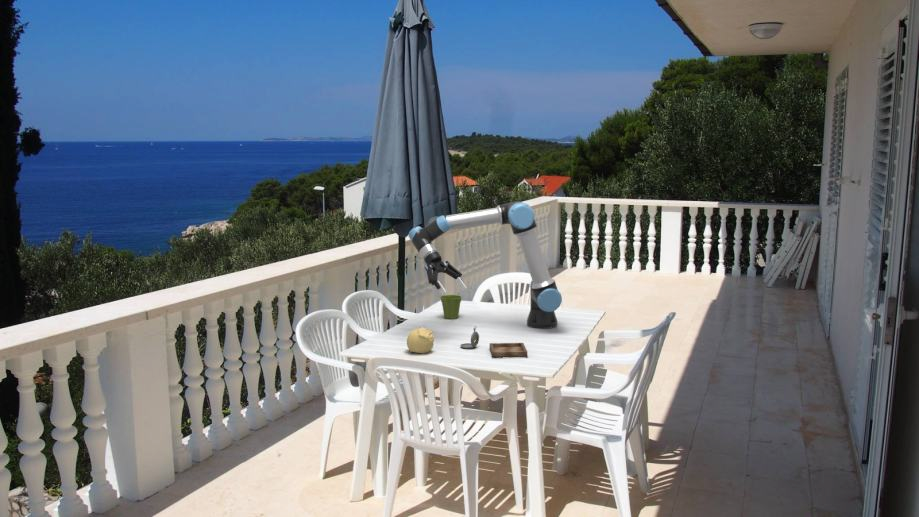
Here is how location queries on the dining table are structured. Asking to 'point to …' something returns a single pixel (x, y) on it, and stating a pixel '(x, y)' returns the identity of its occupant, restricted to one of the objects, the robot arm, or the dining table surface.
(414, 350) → the yellow lumpy ball
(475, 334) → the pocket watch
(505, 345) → the walnut tray
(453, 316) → the plant pot
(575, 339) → the dining table surface
